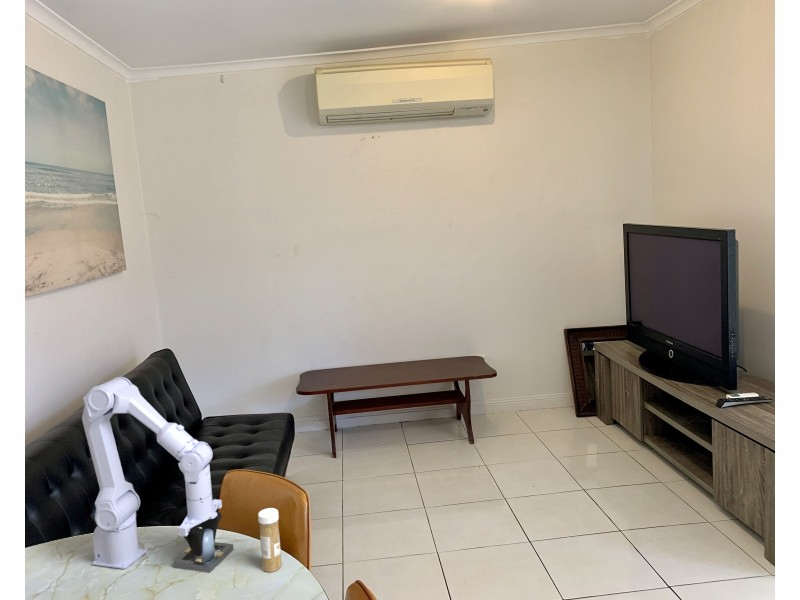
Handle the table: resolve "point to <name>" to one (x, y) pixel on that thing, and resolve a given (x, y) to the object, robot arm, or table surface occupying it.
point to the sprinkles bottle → (270, 539)
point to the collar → (201, 566)
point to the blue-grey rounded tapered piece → (207, 547)
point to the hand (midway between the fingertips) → (203, 549)
